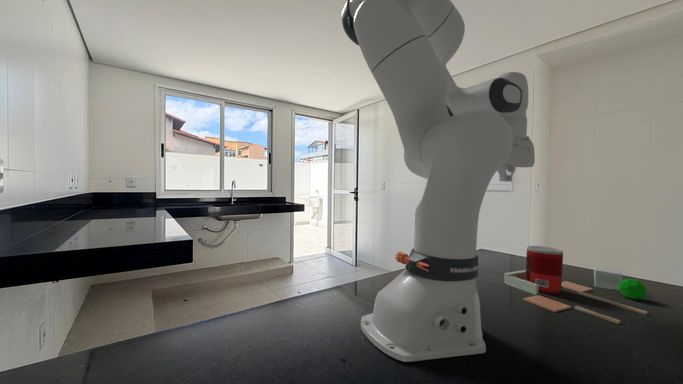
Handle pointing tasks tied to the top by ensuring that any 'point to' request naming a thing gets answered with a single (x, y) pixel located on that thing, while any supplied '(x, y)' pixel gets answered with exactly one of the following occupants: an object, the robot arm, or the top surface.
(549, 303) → the tiles
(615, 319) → the lane kerbs
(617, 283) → the small box
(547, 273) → the canned food
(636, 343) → the top surface
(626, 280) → the polyhedron
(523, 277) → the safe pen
